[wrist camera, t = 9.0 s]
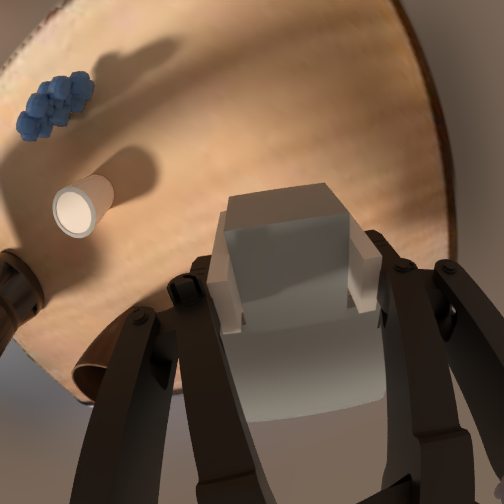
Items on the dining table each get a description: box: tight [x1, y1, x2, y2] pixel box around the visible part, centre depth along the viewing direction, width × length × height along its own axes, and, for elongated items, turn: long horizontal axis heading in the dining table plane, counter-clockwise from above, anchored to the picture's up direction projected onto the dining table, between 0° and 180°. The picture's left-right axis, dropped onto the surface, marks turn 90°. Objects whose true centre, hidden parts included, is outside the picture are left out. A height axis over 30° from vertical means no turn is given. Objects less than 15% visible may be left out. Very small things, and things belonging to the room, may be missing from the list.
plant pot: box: [71, 307, 140, 403], centre depth 40 cm, size 15×15×16 cm
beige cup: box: [52, 175, 114, 238], centre depth 32 cm, size 7×7×7 cm
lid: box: [220, 183, 386, 422], centre depth 17 cm, size 15×19×4 cm
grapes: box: [16, 71, 94, 142], centre depth 22 cm, size 12×7×12 cm, turn 118°
